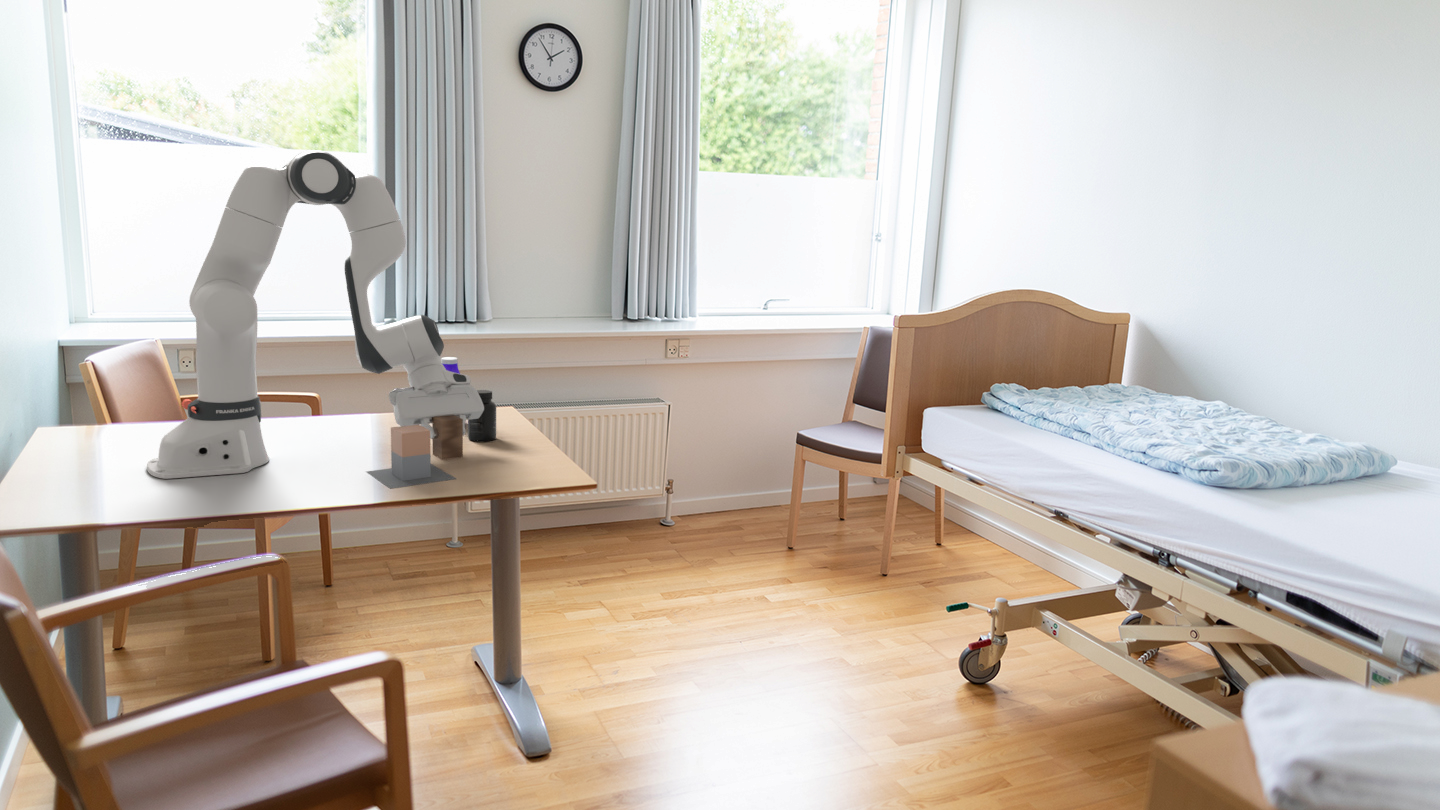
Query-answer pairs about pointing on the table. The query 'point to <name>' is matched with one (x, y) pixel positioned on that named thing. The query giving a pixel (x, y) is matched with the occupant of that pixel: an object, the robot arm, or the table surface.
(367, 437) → the table surface
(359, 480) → the table surface
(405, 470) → the tower bottom
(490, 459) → the table surface
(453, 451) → the walnut post
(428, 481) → the rubber mat
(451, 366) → the bottle
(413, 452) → the tower top
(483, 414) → the supplement bottle
